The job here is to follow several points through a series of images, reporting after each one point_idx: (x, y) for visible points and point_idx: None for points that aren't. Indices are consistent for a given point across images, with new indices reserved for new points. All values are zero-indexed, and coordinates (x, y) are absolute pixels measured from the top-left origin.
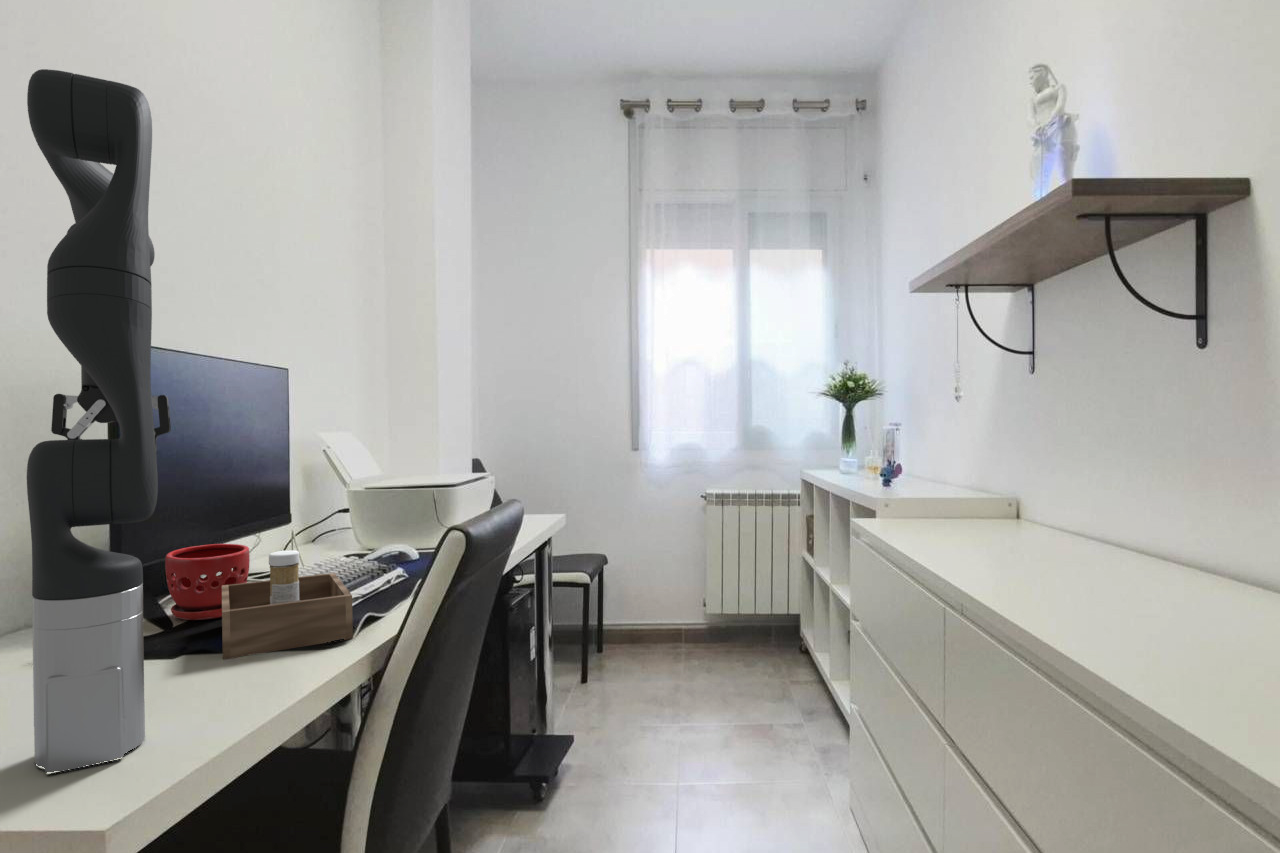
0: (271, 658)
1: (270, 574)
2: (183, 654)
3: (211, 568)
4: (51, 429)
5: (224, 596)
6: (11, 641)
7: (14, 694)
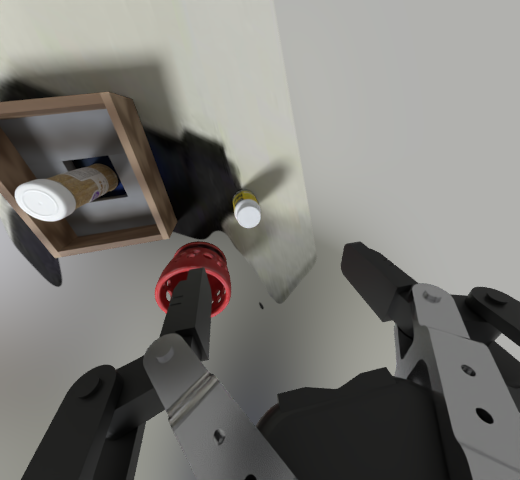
0: (73, 73)
1: (78, 190)
2: (180, 140)
3: (182, 261)
4: (514, 299)
5: (144, 185)
6: (312, 234)
7: (284, 78)
